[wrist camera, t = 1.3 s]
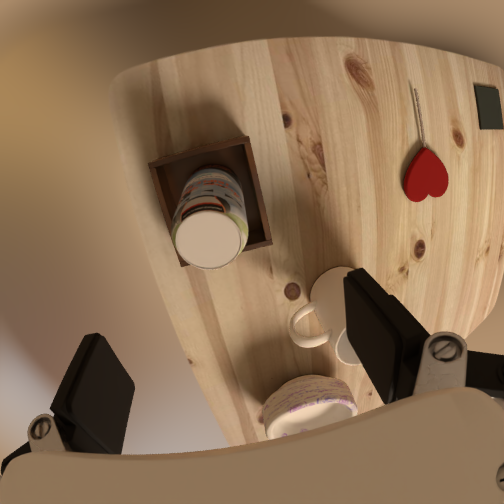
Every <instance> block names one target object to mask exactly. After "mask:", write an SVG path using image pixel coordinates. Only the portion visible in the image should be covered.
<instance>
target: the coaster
mask: <svg viewBox="0 0 504 504" xmlns="http://www.w3.org/2000/svg"><path fill="white" fill-rule="evenodd" d="M474 89H475V94H476V101H477V107H478V115H479V124H480V129H503V120H502V111H501V104H500V97H499V91H498V89H494V88H488V87H482V86H474Z"/></svg>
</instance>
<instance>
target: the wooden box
mask: <svg viewBox="0 0 504 504" xmlns="http://www.w3.org/2000/svg"><path fill="white" fill-rule="evenodd" d="M208 164H219V165H223V166H226V167H227V168H229V169H231V170H232V171H233V172H234V173H235V174H236V175H237V176H238V178H239V180H240V182H241V186H242V192H243V198H244V204H245V211H246V217H247V223H248V239H247V242H246V245H245V247H244V249H243V250H242V251H241V252H244V251H248V250H252V249H256V248H260V247H264V246H268V245H272V244H273V243H272V238H271V233H270V229H269V224H268V219H267V215H266V210H265V205H264V201H263V196H262V192H261V187H260V183H259V178H258V174H257V169H256V165H255V161H254V156H253V152H252V148H251V143H250V139H249V136H241V137H236V138H232V139H228V140H224V141H220V142H216V143H212V144H208V145H204V146H201V147H197V148H193V149H190V150H186V151H183V152H179V153H176V154H173V155H169V156H166V157H163V158H160V159H157V160H155V161H152V162H150V163H148V165H149V169H150V172H151V175H152V179H153V182H154V186H155V189H156V192H157V195H158V199H159V202H160V205H161V208H162V212H163V215H164V218H165V221H166V224H167V227H168V230H169V233H170V236H171V224H172V220H173V217H174V214H175V211H176V209H177V206H178V203H179V200H180V198H181V195H182V192H183V190H184V187H185V184H186V182H187V180H188V178H189V176H190V175H191V174H192V173H193V172H194V171H195V170H196V169H198V168H199V167H202V166H204V165H208ZM171 239H172V238H171ZM172 242H173V241H172ZM173 245H174V244H173ZM174 248H175V246H174ZM175 251H176V254H177V256H178V259H179V262H180V265H181V267H184V266H188V265H190V264H189V263H187V262H186V261H185V260H184V259H183V258H182V257H181V256H180V254H179V252H178V251H177V249H176V248H175Z"/></svg>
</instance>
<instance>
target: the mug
mask: <svg viewBox="0 0 504 504" xmlns="http://www.w3.org/2000/svg"><path fill="white" fill-rule="evenodd" d="M352 270H355V269H352V268H350V267H336V268H333V269H330V270H328V271H326V272H325V273H324V274H322V275H321V276H320V277H319V278H318V279H317V280H316V282H315V283H314V285H313V287H312V290H311V294H310V303H308V304H306V305H305V306H303V307H302V308H300V309H299V310H298V311H297V312H296V313H295V314H294V315H293V317H292V318H291V321H290V328H289V333H290V336H291V339H292V340H293V341H294V343H296V344H297V345H298V346H301V347H307V348H310V347H316V346H319V345H321V344H323V343H325V342H326V341H328V340H329V342H330V344H331V346H332V348H333V350H334V352H335V354H336V357H337V358H338V359H339V360H340V361H341V362H342V363H344V364H346V365H362V363H361V362H360V360H359V358H358V356H357V355H356V353H355V351H354V349H353V348H352V346H351V344H350V342H349V340H348V338H347V333H346V314H345V299H344V286H343V278H344V277H346V276H347V273H348V272H349V271H352ZM313 310H314V312H315V314H316V316H317V318H318V320H319V322H320V324H321V326H322V328H323V330H324V332H325V333H323V334H321V335H319V336H315V337H304V336H301V335H299V334H298V333H297V332H296V330H295V324H296V323H297V321H298V320H299V319H300V318H301V317H303V316H304V315H306V314H307V313H309V312H311V311H313Z"/></svg>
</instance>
